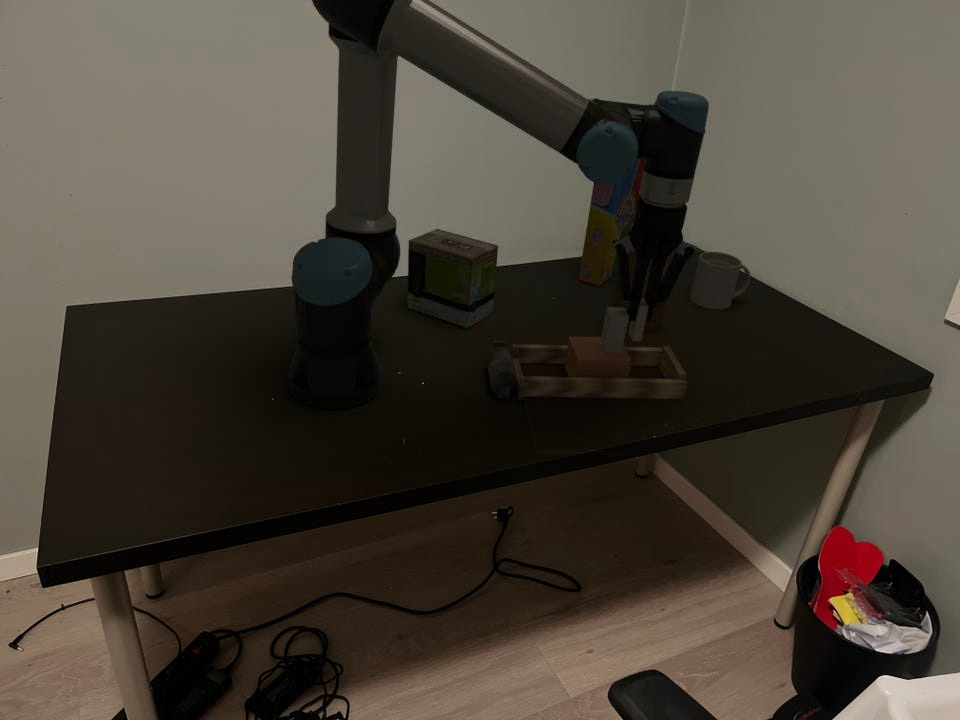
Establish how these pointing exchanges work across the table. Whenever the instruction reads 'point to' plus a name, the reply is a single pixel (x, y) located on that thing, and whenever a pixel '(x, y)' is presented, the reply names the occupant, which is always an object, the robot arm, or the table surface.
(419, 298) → the tea box
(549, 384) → the bay
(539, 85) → the robot arm
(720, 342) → the table surface
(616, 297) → the brown wooden stand
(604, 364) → the brown block with post
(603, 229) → the game box
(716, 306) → the mug
